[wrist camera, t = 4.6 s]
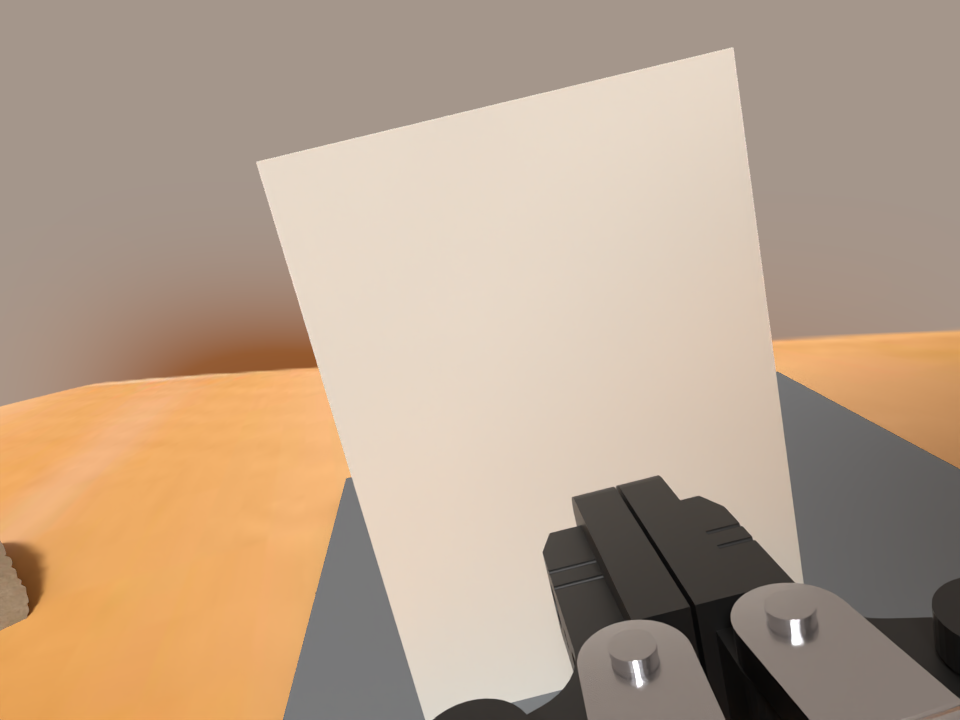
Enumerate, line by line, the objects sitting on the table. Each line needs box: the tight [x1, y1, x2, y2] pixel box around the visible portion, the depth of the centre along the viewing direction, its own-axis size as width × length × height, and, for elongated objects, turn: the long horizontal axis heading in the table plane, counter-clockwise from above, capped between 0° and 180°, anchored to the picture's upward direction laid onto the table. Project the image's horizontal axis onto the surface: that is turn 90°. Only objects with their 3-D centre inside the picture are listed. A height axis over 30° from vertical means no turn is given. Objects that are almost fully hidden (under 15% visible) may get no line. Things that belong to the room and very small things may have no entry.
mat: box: [283, 372, 960, 720], centre depth 25 cm, size 22×22×1 cm
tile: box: [256, 48, 804, 720], centre depth 17 cm, size 10×2×14 cm, turn 94°
